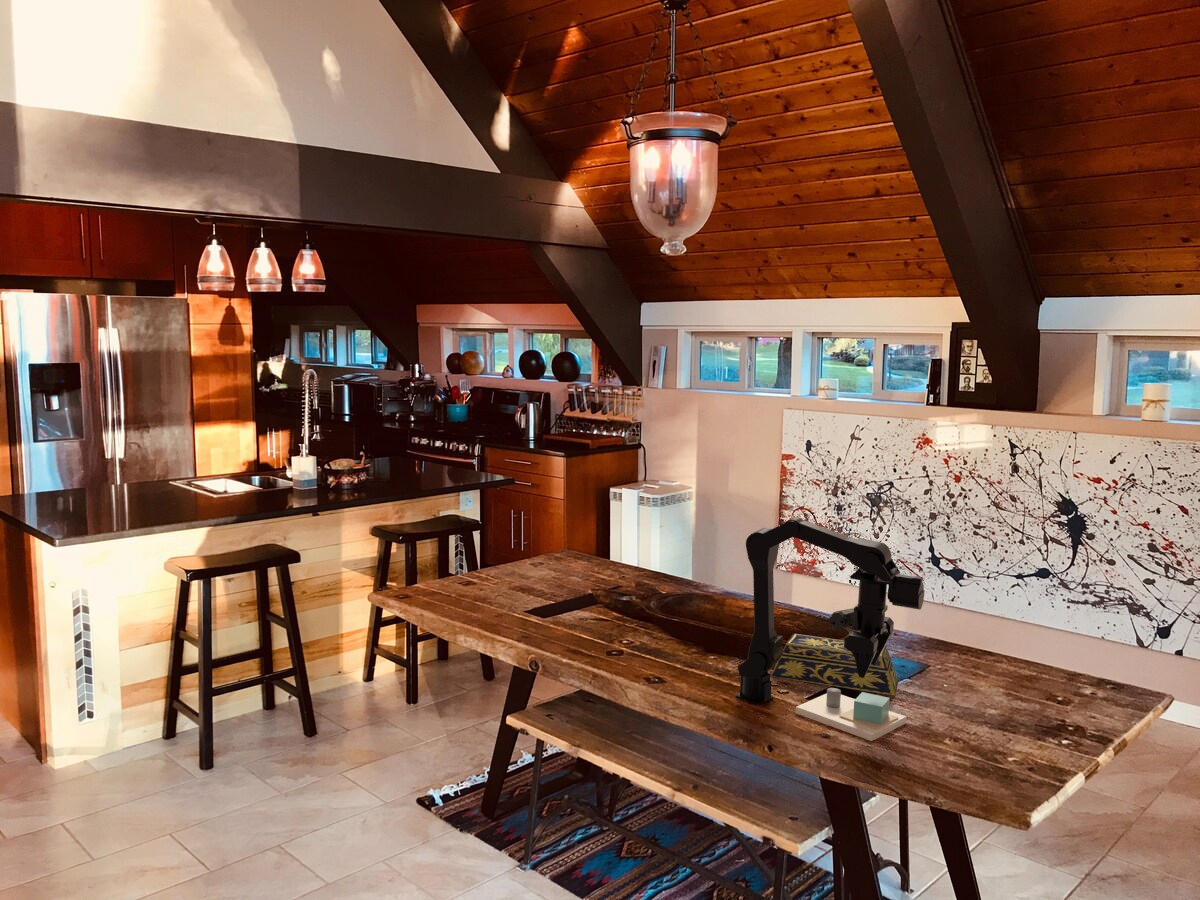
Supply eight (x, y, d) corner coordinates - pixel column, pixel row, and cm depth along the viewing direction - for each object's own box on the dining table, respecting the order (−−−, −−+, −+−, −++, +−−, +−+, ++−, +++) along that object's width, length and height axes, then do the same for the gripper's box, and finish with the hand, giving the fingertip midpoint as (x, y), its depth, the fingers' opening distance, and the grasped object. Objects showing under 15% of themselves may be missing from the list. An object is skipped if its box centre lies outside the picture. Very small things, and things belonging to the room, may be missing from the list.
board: (795, 713, 213) (796, 691, 212) (831, 697, 222) (832, 676, 222) (871, 741, 199) (873, 718, 198) (905, 723, 209) (907, 701, 208)
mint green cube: (861, 709, 211) (862, 692, 210) (888, 715, 208) (889, 697, 207) (853, 718, 206) (854, 700, 205) (881, 724, 203) (882, 707, 202)
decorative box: (896, 697, 224) (898, 660, 223) (769, 677, 235) (771, 642, 234) (899, 681, 234) (902, 646, 233) (778, 663, 245) (779, 630, 244)
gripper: (846, 585, 217) (842, 651, 219) (822, 605, 201) (817, 676, 203) (896, 593, 211) (891, 661, 214) (875, 614, 195) (870, 687, 197)
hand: (867, 670), depth 207 cm, fingers open, 9 cm apart
